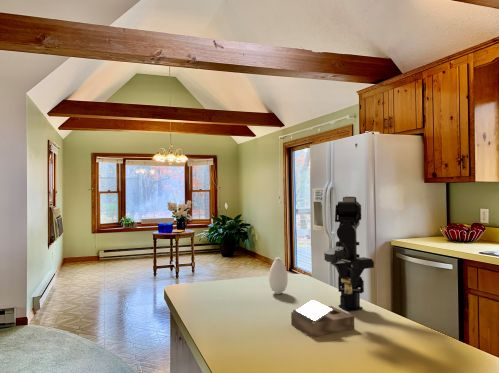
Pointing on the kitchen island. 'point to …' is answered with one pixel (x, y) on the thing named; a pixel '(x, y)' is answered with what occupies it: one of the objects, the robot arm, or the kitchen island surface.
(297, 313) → the brown box
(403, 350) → the kitchen island surface
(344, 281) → the gold metal dome
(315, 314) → the steel flap
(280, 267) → the sauce bottle
